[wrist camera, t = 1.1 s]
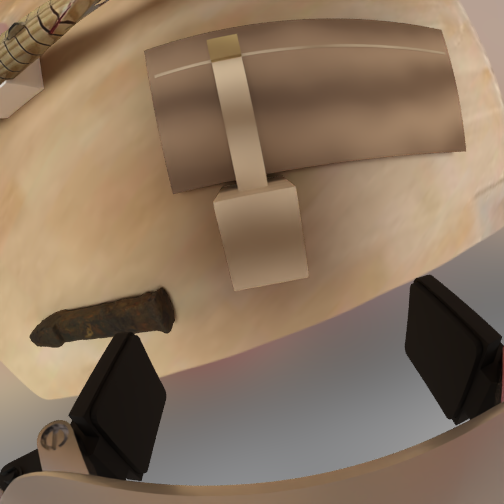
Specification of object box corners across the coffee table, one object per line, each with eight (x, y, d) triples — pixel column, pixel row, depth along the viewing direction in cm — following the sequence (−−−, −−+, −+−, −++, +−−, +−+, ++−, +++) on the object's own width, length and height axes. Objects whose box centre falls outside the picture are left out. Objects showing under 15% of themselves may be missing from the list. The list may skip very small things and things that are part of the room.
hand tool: (167, 280, 27) (153, 305, 23) (179, 316, 28) (169, 344, 24) (33, 302, 28) (13, 321, 24) (47, 329, 29) (29, 350, 25)
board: (153, 58, 20) (143, 50, 17) (428, 36, 18) (441, 29, 16) (180, 189, 24) (172, 194, 21) (450, 149, 22) (466, 151, 20)
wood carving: (204, 22, 19) (179, -49, 8) (-40, 177, 22) (-100, 198, 11) (181, -41, 16) (154, -109, 5) (-48, 120, 19) (-106, 129, 8)
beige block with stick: (196, 63, 20) (178, 34, 14) (256, 51, 20) (260, 18, 13) (237, 254, 26) (234, 291, 19) (293, 243, 26) (309, 278, 19)
